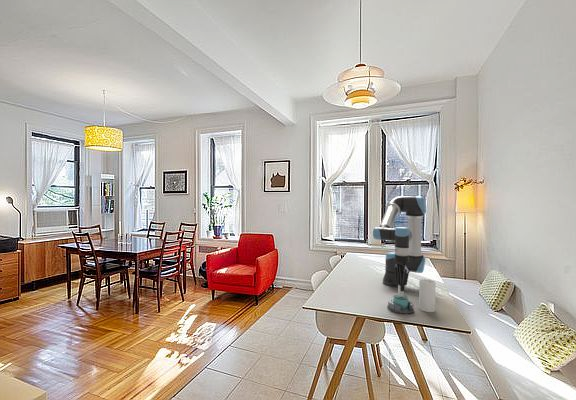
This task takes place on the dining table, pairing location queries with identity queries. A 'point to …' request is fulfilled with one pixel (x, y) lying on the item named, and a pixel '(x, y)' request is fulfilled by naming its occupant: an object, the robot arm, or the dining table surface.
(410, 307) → the dark grey round bowl
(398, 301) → the cap
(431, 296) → the cup
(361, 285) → the dining table surface
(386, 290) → the dining table surface
